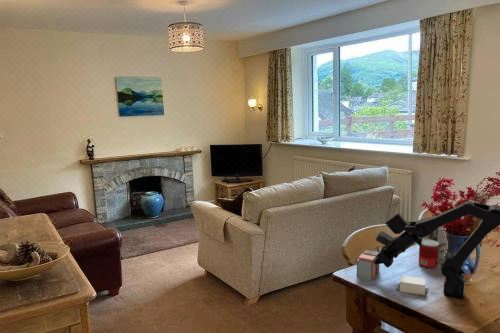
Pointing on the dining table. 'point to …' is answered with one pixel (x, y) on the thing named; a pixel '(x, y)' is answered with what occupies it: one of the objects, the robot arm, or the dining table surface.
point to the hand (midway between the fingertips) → (374, 263)
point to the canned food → (429, 254)
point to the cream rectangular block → (412, 285)
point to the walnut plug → (373, 253)
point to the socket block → (363, 269)
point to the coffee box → (439, 241)
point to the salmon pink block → (369, 259)
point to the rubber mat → (413, 293)
